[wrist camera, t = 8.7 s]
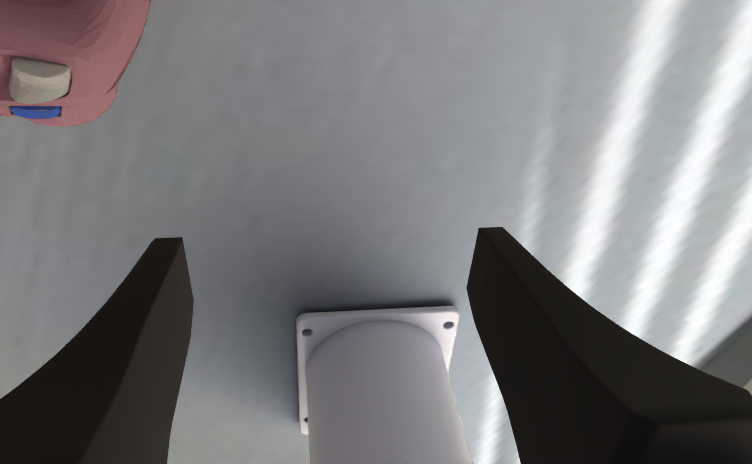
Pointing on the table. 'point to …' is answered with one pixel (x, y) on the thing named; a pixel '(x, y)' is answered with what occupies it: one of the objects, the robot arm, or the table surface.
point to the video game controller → (65, 56)
